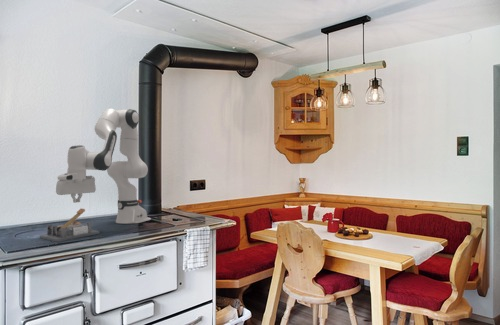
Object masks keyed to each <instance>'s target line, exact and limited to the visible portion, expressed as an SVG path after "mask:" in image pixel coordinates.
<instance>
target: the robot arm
mask: <svg viewBox="0 0 500 325" xmlns="http://www.w3.org/2000/svg"><path fill="white" fill-rule="evenodd" d="M139 122H140V115H139V112H137V110H135V109H132V108H131V109H130V108H129V109H118V110H116V109H114V108H107V109H105V110H104V111H102V114H101V115H100V116H99V117H98V119H97V121H96V123H95V125H94V132H95V134H96V135H97V136H98V138H100V139H102V140H104V145H103V147H102V150H100V151H96V152H95V151H94V152H93V151H89V150H88V149H86V147H85V146H84V145H80V144H79V145H72V146H70V147H69V148H68V150H67V151H68V152H67V172H66V173H63V174H60V175H58V176H57V182H56V187H55V193H56V195H58V196H63V195H64V196H65V195H66V196H67V195H70V197H71V198H72V203H81V199H82V196H83V194H90V193H95V192H96V178H95V177H94V176H93V175H87V170H92V171H93V170H94V171H106V172H107V175H108V177H110V178H111V179H112V180H113V181H114V182H115V184H116V187H117V192H118V193H117V194H118V197H117V198H118V199H117V214H116V218H115V219H116V220H115V223H116V224H126V225H127V224H140V223H143V222H146V221H147V222H148V221H150V220H151V221H152V218H151V217H148V212H147V210H146V209H145V208H143V207H142V206H141V205H140V204H142V202H143V201H142V200H141V199H137V196H138V195H137V187H136V186H135V184H132V183H131V182H130V181H129V179H142V178H145V177H146V176H147V175H148V171H149V169H148V165H147V164H146V162H144V161H143V160H142V158H141V157H140V155H139V133H138V132H139V131H138V124H139ZM117 128H120V129H121V131H120V137H119V152H120V154H122V155H123V156H125V157H126V158H127V159H126V161H125V160H123V161H120V160H119V161H118V160H117V161H112V160H113V154H114V150H115V148H116V142H117V140H118V139H117V138H118V135H117V132H116V130H117ZM76 195H77V198H76Z"/></svg>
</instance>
